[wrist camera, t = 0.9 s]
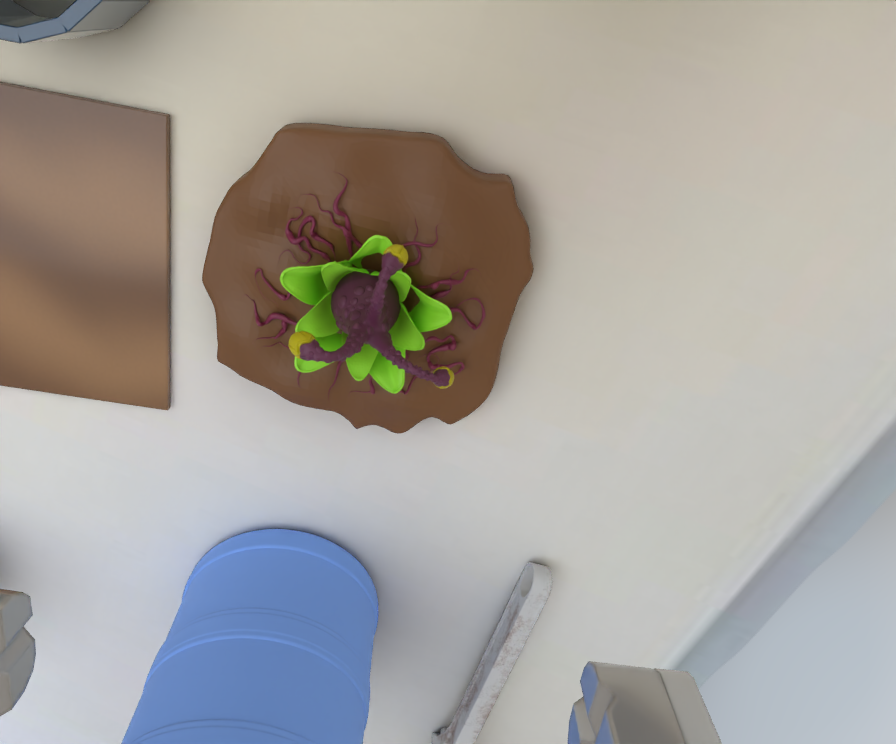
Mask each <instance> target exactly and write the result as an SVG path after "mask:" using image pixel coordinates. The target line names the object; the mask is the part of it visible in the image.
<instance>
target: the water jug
mask: <svg viewBox="0 0 896 744" xmlns="http://www.w3.org/2000/svg"><path fill="white" fill-rule="evenodd" d="M377 622H378V598H377V593H376V589H375V586H374V584H373V582H372V579H371V578H370V576H369V574H368V573H367V571H366V570H365V568H364V567H363V566H362V565H361V564H360V562H359V561H358V560H357V559H356V558H355V557H353V556H352V555H351V554H350V553H349V552H347V551H346V550H344V549H343V548H341V547H340V546H338V545H336V544H335V543H333V542H331V541H329V540H326V539H324V538H322V537H319V536H316V535H313V534H310V533H306V532H301V531H296V530H288V529H264V530H256V531H251V532H246V533H243V534H239V535H236V536H234V537H231V538H229V539H227V540H225V541H223V542H221V543H220V544H218V545H216V546H215V547H214V548H212V549H211V550H210V551H209V552H207V553H206V554H205V555H204V556H203V557H202V558H201V560H200V561H199V562H198V563H197V565H196V566H195V568H194V570H193V572H192V574H191V576H190V577H189V579H188V581H187V584H186V586H185V590H184V593H183V598H182V603H181V605H180V608H179V610H178V612H177V615H176V617H175V620H174V622H173V624H172V627H171V629H170V631H169V634H168V636H167V638H166V641H165V642H164V644H163V645H162V647H161V648H160V650H159V652H158V654H157V656H156V658H155V660H154V662H153V665H152V667H151V669H150V672H149V674H148V676H147V679H146V682H145V686H144V690H143V694H142V696H141V699H140V701H139V703H138V706H137V708H136V710H135V713H134V715H133V717H132V720H131V722H130V724H129V727H128V729H127V732H126V734H125V736H124V739H123V741H122V743H121V744H363V736H364V730H365V727H366V723H367V718H368V711H369V700H370V680H369V679H370V669H371V659H372V649H373V639H374V635H375V632H376V628H377Z"/></svg>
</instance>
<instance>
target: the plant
mask: <svg viewBox="0 0 896 744" xmlns="http://www.w3.org/2000/svg"><path fill="white" fill-rule="evenodd" d="M532 273H533V263H532V260H531V255H530V234H529V228H528V225H527V223H526V220H525V218H524V216H523V214H522V212H521V210H520V209H519V207H518V205H517V202H516V198H515V193H514V188H513V184H512V182H511V179H510V177H509V176H508V175H505V174H487V173H482V172H479V171H477V170H474V169H473V168H471V167H470V166H468V165H467V164H466V163H464V162H463V161H462V160H461V159H460V158H459V157H458V156H457V155H456V154H455V152H454V151H453V149H452V148H451V146H450V145H449V144H448V142H447V141H446V140H445V139H444V138H442V137H440V136H437V135H434V134H430V133H424V132H404V131H396V130H385V129H371V128H352V127H341V126H334V125H326V124H312V123H293V124H288V125H286V126H284V127H283V128H282V129H280V130H279V131H278V132H277V133H276V134H275V136H274V137H273V139H272V141H271V142H270V144H269V145H268V146H267V148H266V149H265V151H264V152H263V154H262V156H261V157H260V158H259V160H258V161H257V163H256V164H255V165H254V166H253V168H252V169H251V170H250V171H248V172H247V173H246V174H244V175H243V176H242V177H241V178H239V179H238V180H237V181H236V182H235V183H234V184H233V185H232V186H231V188H230V189H229V190H228V192H227V194H226V196H225V197H224V199H223V201H222V203H221V205H220V207H219V209H218V211H217V213H216V216H215V219H214V223H213V228H212V234H211V239H210V243H209V247H208V251H207V255H206V260H205V264H204V269H203V276H202V281H203V284H204V286H205V288H206V290H207V292H208V294H209V296H210V298H211V300H212V302H213V305H214V308H215V312H216V320H217V340H218V351H217V359H218V361H219V362H220V363H222V364H224V365H226V366H228V367H229V368H231V369H232V370H234V371H235V372H236V373H238V374H239V375H240V376H242V377H244V378H246V379H248V380H250V381H252V382H255V383H257V384H259V385H262V386H264V387H266V388H268V389H270V390H272V391H274V392H275V393H277V394H278V395H280V396H281V397H283V398H285V399H287V400H288V401H290V402H293V403H295V404H298V405H302V406H306V407H312V408H316V409H322V410H329V411H334V412H337V413H339V414H341V415H342V416H344V417H345V418H346V419H347V420H349V421H350V422H351V424H352V425H353V426H354V427H355V428H356V429H358V428H361V427H364V426H367V425H378V426H381V427H384V428H386V429H388V430H390V431H391V432H394V433H403V432H406V431H408V430H409V429H410V428H412V427H414V426H415V425H416V424H417V423H419V422H420V421H422V420H424V419H426V418H428V417H435V418H438V419H440V420H441V421H443V422H445V423H447V424H453V423H455V422H457V421H459V420H461V419H462V418H464V417H466V416H468V415H469V414H470V413H472V412H473V411H474V410H476V409H477V408H478V407H479V406H480V405H481V404H482V403H483V402H484V401H485V400H486V399H487V397H488V396H489V394H490V392H491V390H492V388H493V385H494V382H495V379H496V375H497V371H498V366H499V360H500V355H501V349H502V345H503V342H504V339H505V336H506V334H507V331H508V328H509V325H510V322H511V319H512V316H513V313H514V310H515V307H516V304H517V301H518V299H519V296H520V294H521V292H522V290H523V289H524V287H525V286H526V285H527V283H528V282H529V281H530V279H531V276H532Z"/></svg>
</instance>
